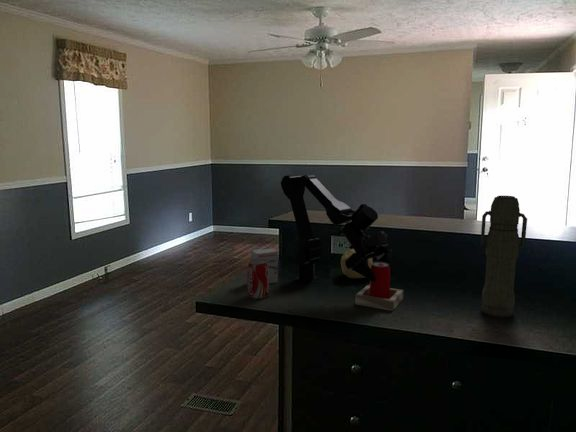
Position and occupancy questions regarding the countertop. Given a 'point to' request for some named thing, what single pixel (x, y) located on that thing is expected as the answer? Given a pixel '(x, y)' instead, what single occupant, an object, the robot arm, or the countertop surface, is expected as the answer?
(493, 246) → the thermos
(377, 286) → the beverage can
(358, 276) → the sculpture
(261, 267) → the soda can
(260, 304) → the countertop surface
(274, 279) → the ink box
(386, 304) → the can holder
